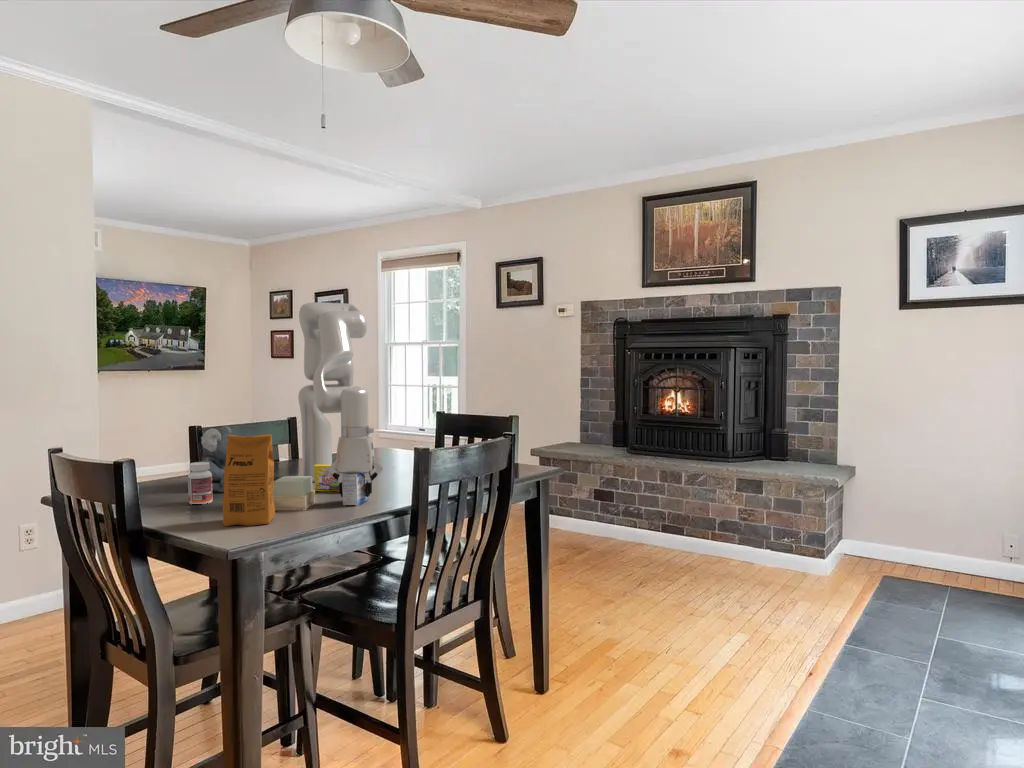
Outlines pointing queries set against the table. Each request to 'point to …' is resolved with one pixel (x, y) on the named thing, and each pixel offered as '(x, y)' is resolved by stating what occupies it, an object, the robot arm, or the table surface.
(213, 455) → the koala plush
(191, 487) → the pill bottle
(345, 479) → the medicine box
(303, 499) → the maple block
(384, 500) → the table surface
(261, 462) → the coffee package
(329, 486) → the candy box
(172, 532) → the table surface
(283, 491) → the sage block
